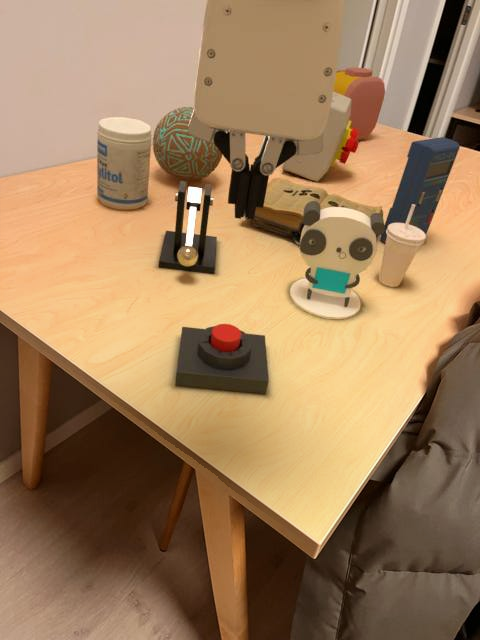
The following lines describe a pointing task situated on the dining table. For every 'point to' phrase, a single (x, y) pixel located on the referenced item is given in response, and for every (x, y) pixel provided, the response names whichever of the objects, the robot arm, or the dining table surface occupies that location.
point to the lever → (190, 228)
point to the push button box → (222, 363)
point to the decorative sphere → (183, 148)
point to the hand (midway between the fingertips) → (243, 212)
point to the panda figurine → (334, 259)
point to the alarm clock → (361, 97)
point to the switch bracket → (200, 242)
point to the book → (298, 206)
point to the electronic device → (422, 182)
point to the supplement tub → (123, 162)
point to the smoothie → (399, 250)
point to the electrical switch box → (328, 143)
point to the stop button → (225, 338)
